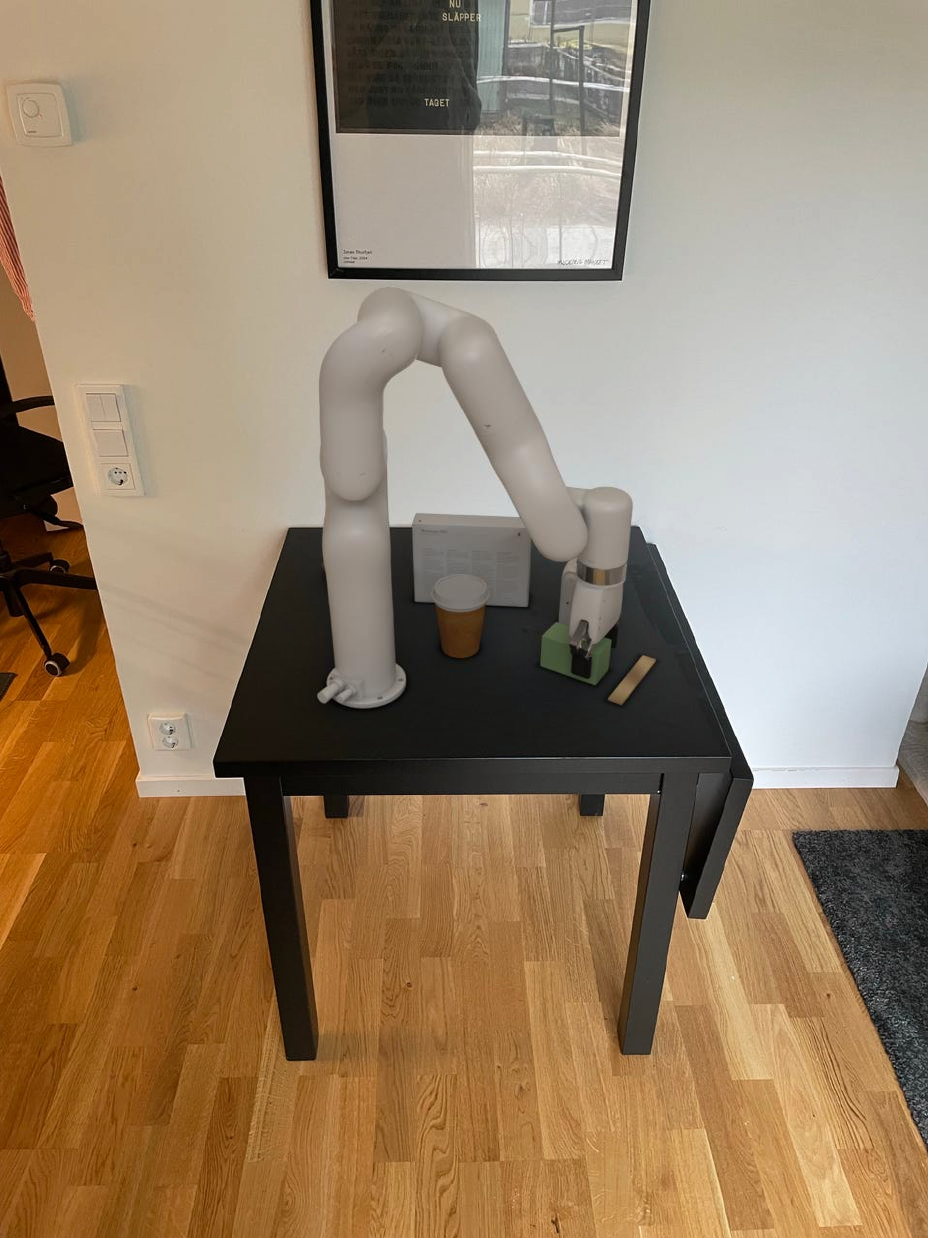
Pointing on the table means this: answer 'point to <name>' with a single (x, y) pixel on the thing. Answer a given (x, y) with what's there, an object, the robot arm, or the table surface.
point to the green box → (560, 657)
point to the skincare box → (472, 554)
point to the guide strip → (632, 680)
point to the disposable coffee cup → (460, 613)
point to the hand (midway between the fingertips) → (594, 660)
